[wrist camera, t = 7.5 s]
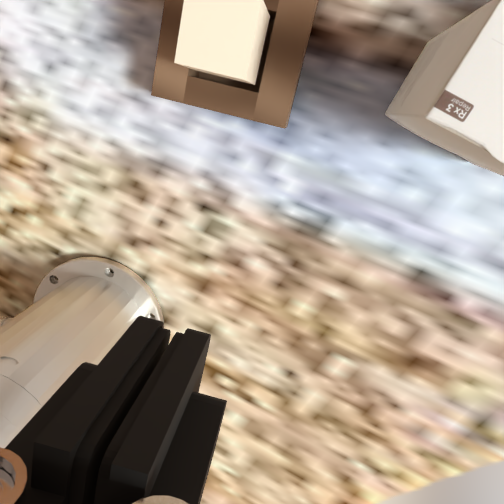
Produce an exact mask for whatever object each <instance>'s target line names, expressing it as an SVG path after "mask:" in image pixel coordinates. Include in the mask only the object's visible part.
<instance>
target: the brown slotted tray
mask: <svg viewBox="0 0 504 504" xmlns="http://www.w3.org/2000/svg"><path fill="white" fill-rule="evenodd" d="M318 1H319V0H264V3H265V5H266V8H267V10H268V13H269V15H270V19H269V24H268V28H267V33H266V37H265V42H264V46H263V51H262V56H261V60H260V65H259V69H258V74H257V78H256V83H255V85H253V84H249V83H245V82H241V81H237V80H232V79H228V78H224V77H220V76H216V75H212V74H208V73H204V72H200V71H196V70H193V69H190V68H187V67H184V66H182V65H179V64H176V63H174V61H175V55H176V48H177V42H178V35H179V29H180V23H181V16H182V10H183V3H184V0H165V2H164V9H163V16H162V23H161V30H160V37H159V44H158V51H157V58H156V65H155V72H154V79H153V86H152V93H151V95H152V96H156V97H160V98H164V99H168V100H172V101H176V102H180V103H184V104H188V105H192V106H196V107H200V108H205V109H209V110H213V111H217V112H221V113H225V114H229V115H233V116H237V117H241V118H245V119H249V120H253V121H257V122H261V123H265V124H269V125H273V126H277V127H281V128H286V127H287V125H288V121H289V117H290V113H291V109H292V105H293V101H294V97H295V93H296V89H297V85H298V81H299V77H300V73H301V69H302V65H303V61H304V57H305V53H306V49H307V45H308V41H309V37H310V33H311V29H312V25H313V21H314V17H315V13H316V9H317V5H318Z"/></svg>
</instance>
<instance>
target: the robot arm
mask: <svg viewBox="0 0 504 504" xmlns="http://www.w3.org/2000/svg"><path fill="white" fill-rule="evenodd" d="M111 269H112V270H113V271H112V270H111ZM210 337H211V334H207V333H203V332H200V331H196V330H192V329H187V330H186V331H185V333H184V334H182V333H179V332H176V334H175V335H174V337H173V339H172V340H171V342H170V344H169V339H170V330H168V329H164V320H163V315H162V310H161V307H160V305H159V302H158V300H157V298H156V296H155V295H154V293H153V291H152V290H151V288H150V287H149V286H148V285H147V284H146V282H145V281H144V280H143V279H142V278H141V277H140V276H138V275H137V274H136V273H135V272H133V271H132V270H131V269H129V268H127V267H125V266H124V265H122V264H120V263H118V262H115V261H112V260H109V259H106V258H99V257H80V258H76V259H71V260H69V261H67V262H64V263H62V264H60V265H59V266H57V267H56V268H54V269H53V270H51V271H50V272H49V273H48V274H47V275H46V276H45V277H44V278H43V279H42V281H41V282H40V284H39V286H38V287H37V290H36V293H35V296H34V301H33V305H31V306H30V307H28V308H27V309H25V310H24V311H23V312H21V313H20V314H18V315H17V316H15V317H14V318H0V504H200V501H201V497H202V494H203V490H204V486H205V483H206V479H207V475H208V472H209V468H210V465H211V461H212V457H213V453H214V450H215V446H216V442H217V438H218V434H219V430H220V427H221V423H222V419H223V415H224V411H225V407H226V403H227V401H226V400H222V399H218V398H215V397H211V396H208V395H204V394H200V393H198V392H199V387H200V383H201V378H202V374H203V369H204V365H205V361H206V356H207V352H208V347H209V343H210ZM168 344H169V345H168Z"/></svg>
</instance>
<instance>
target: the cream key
mask: <svg viewBox="0 0 504 504" xmlns="http://www.w3.org/2000/svg"><path fill="white" fill-rule="evenodd" d="M269 19H270V15H269V13H268V10H267V8H266V5H265V3H264V0H184V3H183V10H182V16H181V23H180V29H179V35H178V42H177V48H176V55H175V61H174V63H176V64H179V65H182V66H184V67H187V68H190V69H193V70H196V71H200V72H204V73H208V74H212V75H216V76H220V77H224V78H228V79H232V80H237V81H241V82H245V83H249V84H253V85H255V83H256V78H257V74H258V69H259V65H260V60H261V56H262V51H263V46H264V42H265V37H266V33H267V28H268V24H269Z"/></svg>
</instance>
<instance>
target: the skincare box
mask: <svg viewBox="0 0 504 504" xmlns="http://www.w3.org/2000/svg"><path fill="white" fill-rule="evenodd" d="M385 115H386V116H387V117H388V118H390V119H391V120H393V121H394V122H396V123H397V124H399V125H401V126H402V127H404V128H405V129H407V130H409V131H410V132H412V133H414V134H416V135H417V136H419V137H421V138H423V139H425V140H427V141H429V142H431V143H433V144H435V145H437V146H439V147H441V148H443V149H445V150H448V151H450V152H452V153H454V154H457V155H459V156H460V157H462V158H464V159H465V160H467V161H469V162H470V163H472V164H474V165H477V166H479V167H482V168H485V169H487V170H490V171H492V172H495V173H497V174H500V175H502V176H504V0H491V1H490V2H488V3H487V4H485V5H484V6H482V7H480V8H479V9H477V10H476V11H474V12H473V13H471V14H470V15H468V16H467V17H465V18H464V19H462V20H460V21H459V22H457V23H456V24H454V25H453V26H451V27H450V28H448V29H446V30H445V31H443V32H442V33H440V34H439V35H437V36H436V37H434V38H433V39H431V40H429V41H428V42H427V44H426V45H425V47H424V49H423V50H422V52H421V54H420V55H419V57H418V59H417V60H416V62H415V64H414V65H413V67H412V69H411V70H410V72H409V74H408V75H407V77H406V79H405V80H404V82H403V84H402V85H401V87H400V89H399V90H398V92H397V94H396V95H395V97H394V99H393V100H392V102H391V104H390V105H389V107H388V109H387V110H386V112H385Z"/></svg>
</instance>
